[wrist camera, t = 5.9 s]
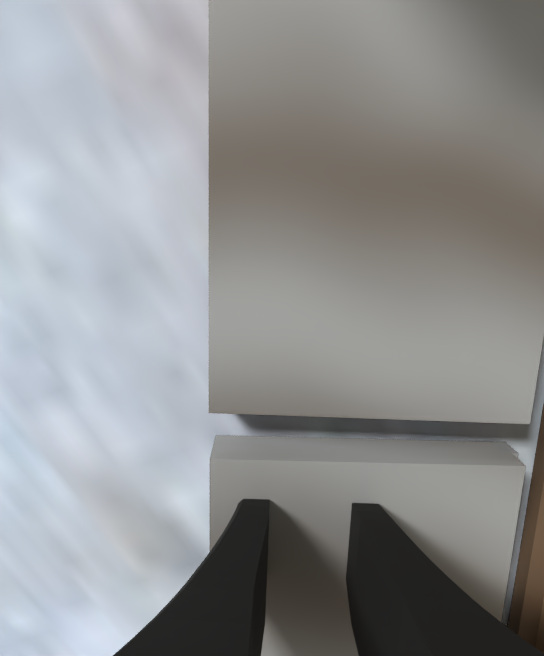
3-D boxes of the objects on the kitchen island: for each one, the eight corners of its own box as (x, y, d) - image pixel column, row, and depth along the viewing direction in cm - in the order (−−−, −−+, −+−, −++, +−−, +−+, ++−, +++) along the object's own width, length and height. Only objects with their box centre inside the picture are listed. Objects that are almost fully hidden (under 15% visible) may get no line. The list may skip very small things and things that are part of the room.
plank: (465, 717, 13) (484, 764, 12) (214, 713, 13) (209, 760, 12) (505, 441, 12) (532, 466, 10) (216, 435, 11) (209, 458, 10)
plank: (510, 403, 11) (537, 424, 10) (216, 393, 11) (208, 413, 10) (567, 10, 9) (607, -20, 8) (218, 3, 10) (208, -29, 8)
